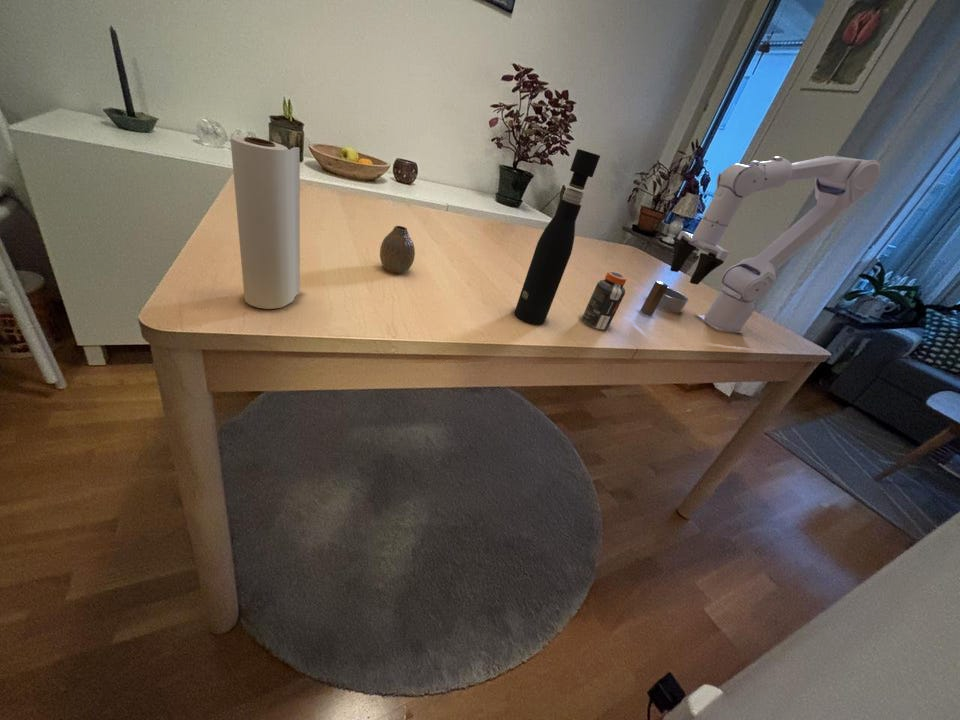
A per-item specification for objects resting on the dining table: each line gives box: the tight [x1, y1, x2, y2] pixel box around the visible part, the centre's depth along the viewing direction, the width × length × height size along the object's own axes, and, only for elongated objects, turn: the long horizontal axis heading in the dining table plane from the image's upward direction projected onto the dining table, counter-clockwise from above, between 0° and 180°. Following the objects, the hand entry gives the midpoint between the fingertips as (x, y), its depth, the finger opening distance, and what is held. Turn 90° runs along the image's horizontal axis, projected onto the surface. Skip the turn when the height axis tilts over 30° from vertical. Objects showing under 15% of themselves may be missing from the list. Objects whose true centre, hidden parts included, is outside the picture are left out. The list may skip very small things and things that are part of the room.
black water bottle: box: [514, 148, 601, 326], centre depth 68 cm, size 6×6×30 cm
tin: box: [657, 287, 689, 314], centre depth 105 cm, size 9×9×4 cm
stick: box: [639, 280, 669, 316], centre depth 93 cm, size 2×2×8 cm
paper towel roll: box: [229, 135, 301, 310], centre depth 51 cm, size 7×6×21 cm
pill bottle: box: [581, 270, 628, 330], centre depth 79 cm, size 6×6×11 cm
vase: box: [379, 225, 416, 275], centre depth 76 cm, size 7×7×9 cm
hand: (683, 277), depth 94 cm, fingers open, 7 cm apart
